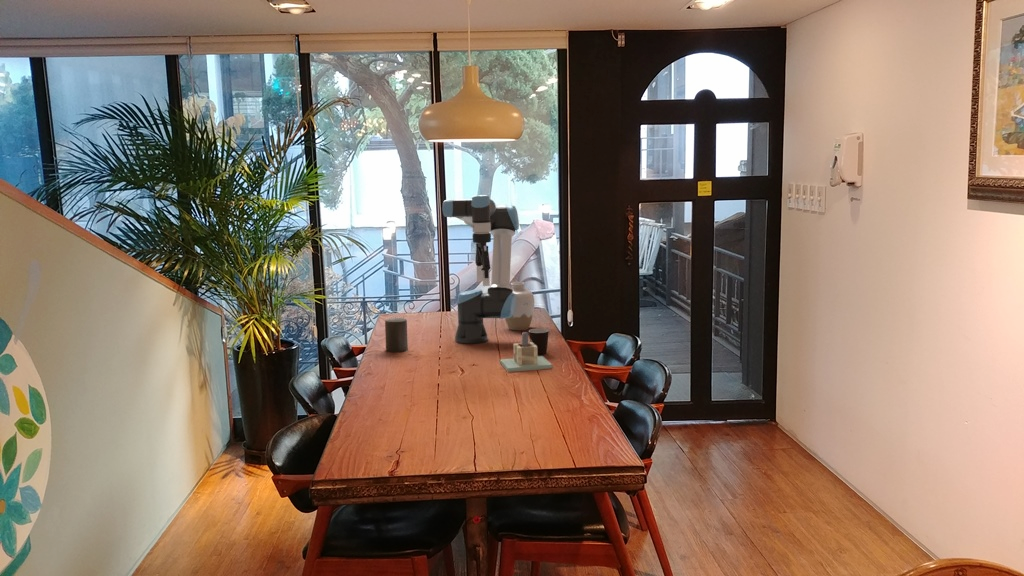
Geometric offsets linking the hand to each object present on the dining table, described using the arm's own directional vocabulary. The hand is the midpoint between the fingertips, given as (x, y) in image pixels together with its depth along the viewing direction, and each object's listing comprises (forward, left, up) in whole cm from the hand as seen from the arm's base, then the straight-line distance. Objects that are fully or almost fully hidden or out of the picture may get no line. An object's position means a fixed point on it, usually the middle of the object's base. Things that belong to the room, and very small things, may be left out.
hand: (483, 283), depth 335 cm
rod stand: (+19, +13, -32) cm, 39 cm away
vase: (-53, +27, -32) cm, 67 cm away
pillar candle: (-27, -35, -32) cm, 55 cm away
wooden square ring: (+19, +13, -30) cm, 38 cm away
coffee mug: (-1, +24, -32) cm, 40 cm away
